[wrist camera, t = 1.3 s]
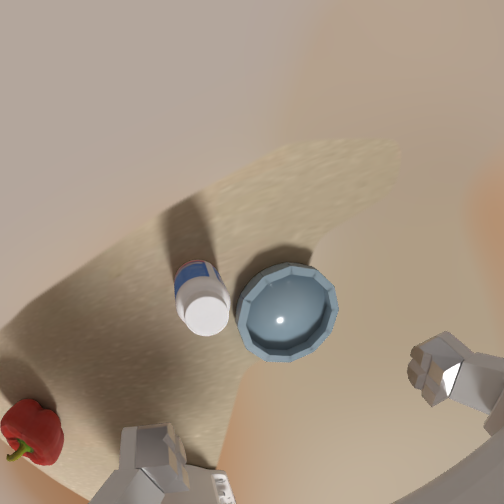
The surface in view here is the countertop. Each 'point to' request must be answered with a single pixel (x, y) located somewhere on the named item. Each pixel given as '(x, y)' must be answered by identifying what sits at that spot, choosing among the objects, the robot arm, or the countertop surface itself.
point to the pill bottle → (201, 298)
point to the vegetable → (33, 432)
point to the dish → (286, 312)
